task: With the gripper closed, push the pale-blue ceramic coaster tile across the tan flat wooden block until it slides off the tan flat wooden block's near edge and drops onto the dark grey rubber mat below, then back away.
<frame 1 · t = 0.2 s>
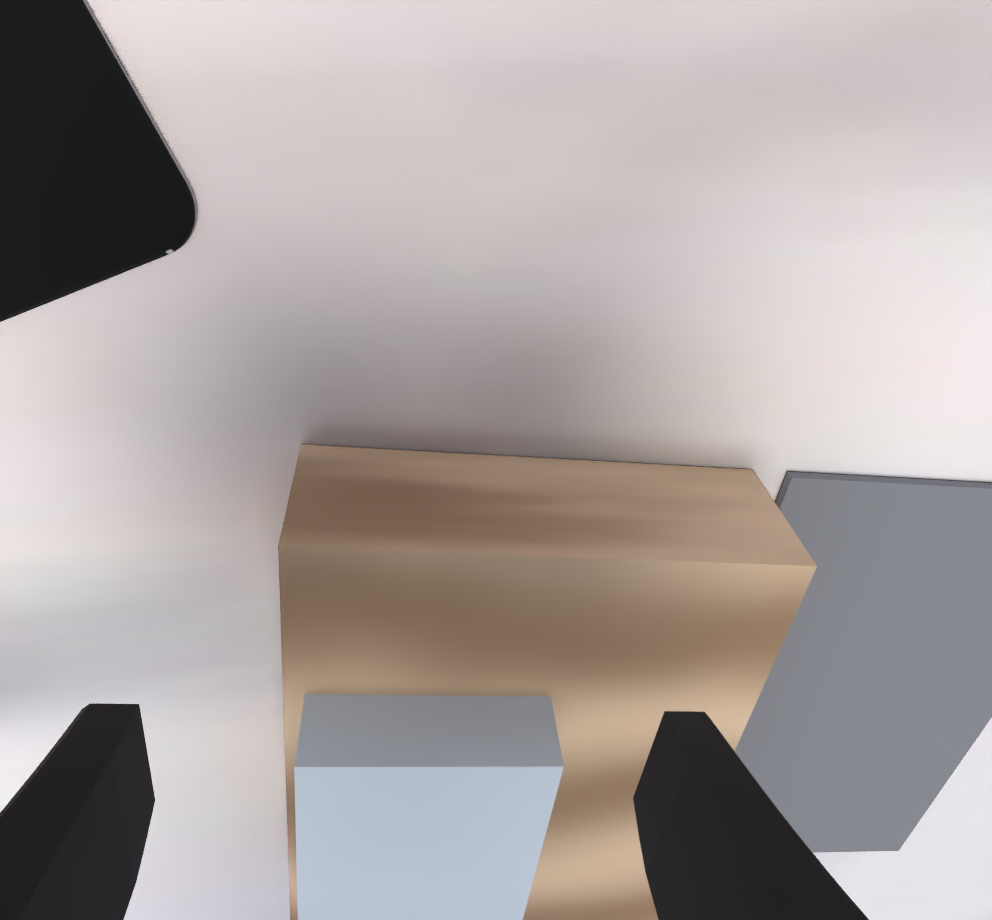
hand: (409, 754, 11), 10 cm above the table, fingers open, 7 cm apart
mat: (852, 696, 27), on the table
tan flat wooden block: (494, 692, 25), on the table
tile: (417, 806, 21), point 4 cm above the table, touching tan flat wooden block
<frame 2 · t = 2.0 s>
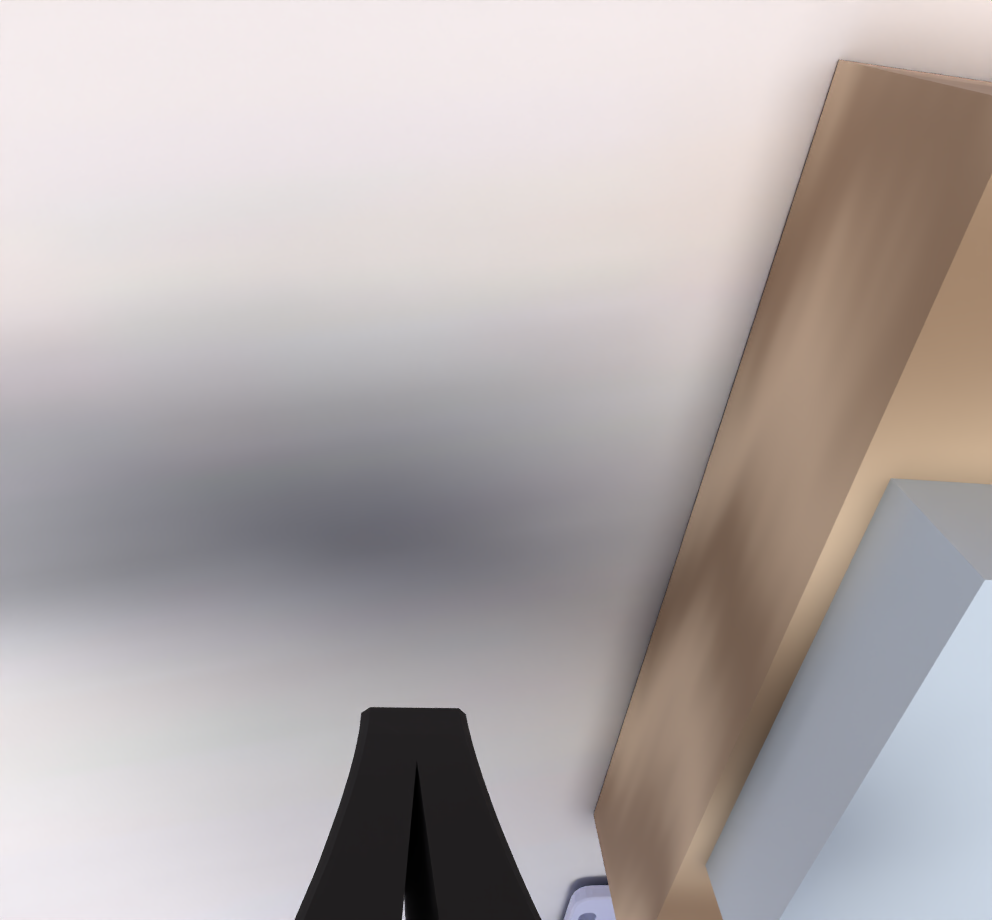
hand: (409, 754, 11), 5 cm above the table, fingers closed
tan flat wooden block: (945, 561, 17), on the table
tile: (947, 710, 13), point 4 cm above the table, touching tan flat wooden block
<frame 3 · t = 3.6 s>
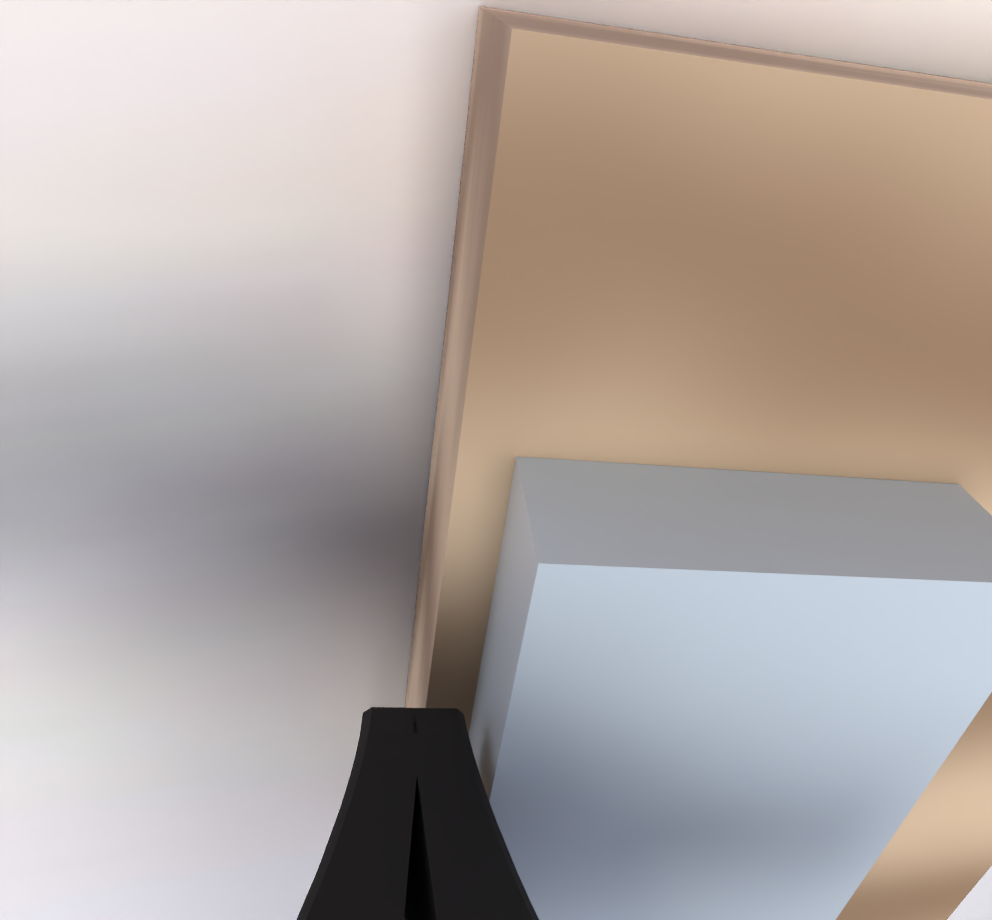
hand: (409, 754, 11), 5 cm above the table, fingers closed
tan flat wooden block: (715, 552, 16), on the table
tile: (661, 707, 12), point 4 cm above the table, touching tan flat wooden block, gripper
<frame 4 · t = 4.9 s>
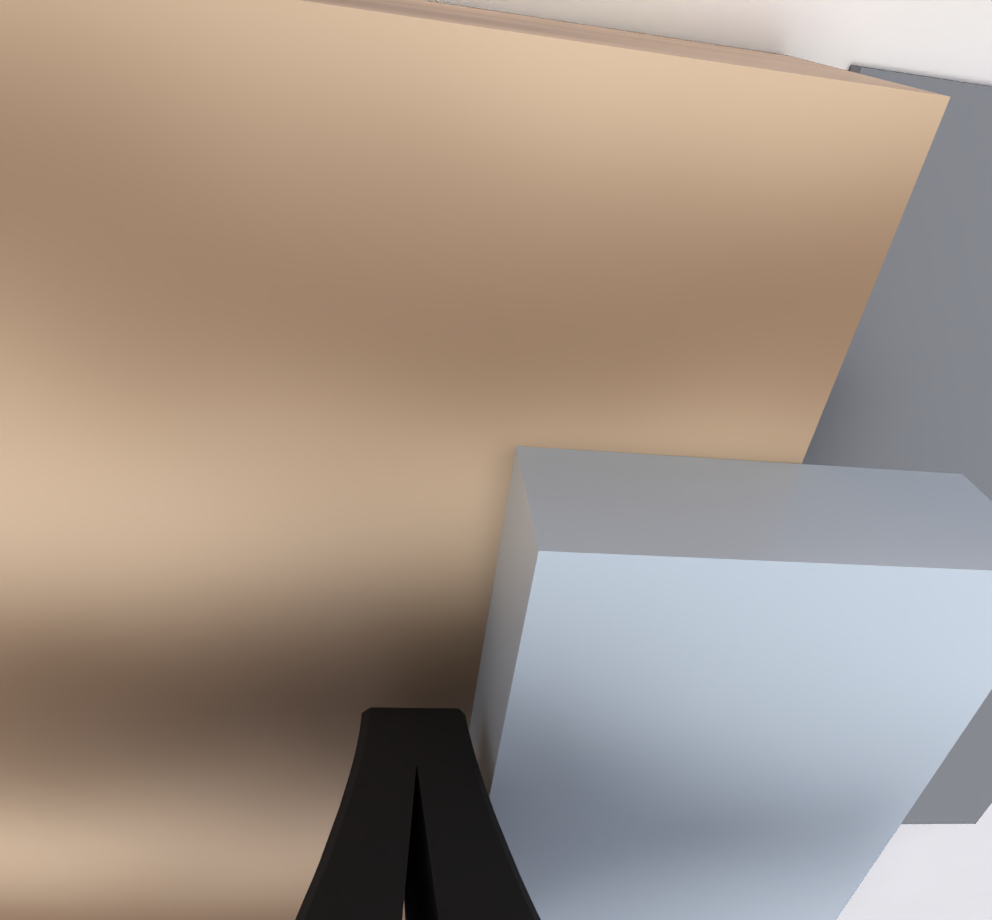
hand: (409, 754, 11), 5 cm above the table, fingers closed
mat: (929, 563, 17), on the table
tan flat wooden block: (339, 534, 15), on the table
tile: (663, 701, 12), point 4 cm above the table, touching gripper
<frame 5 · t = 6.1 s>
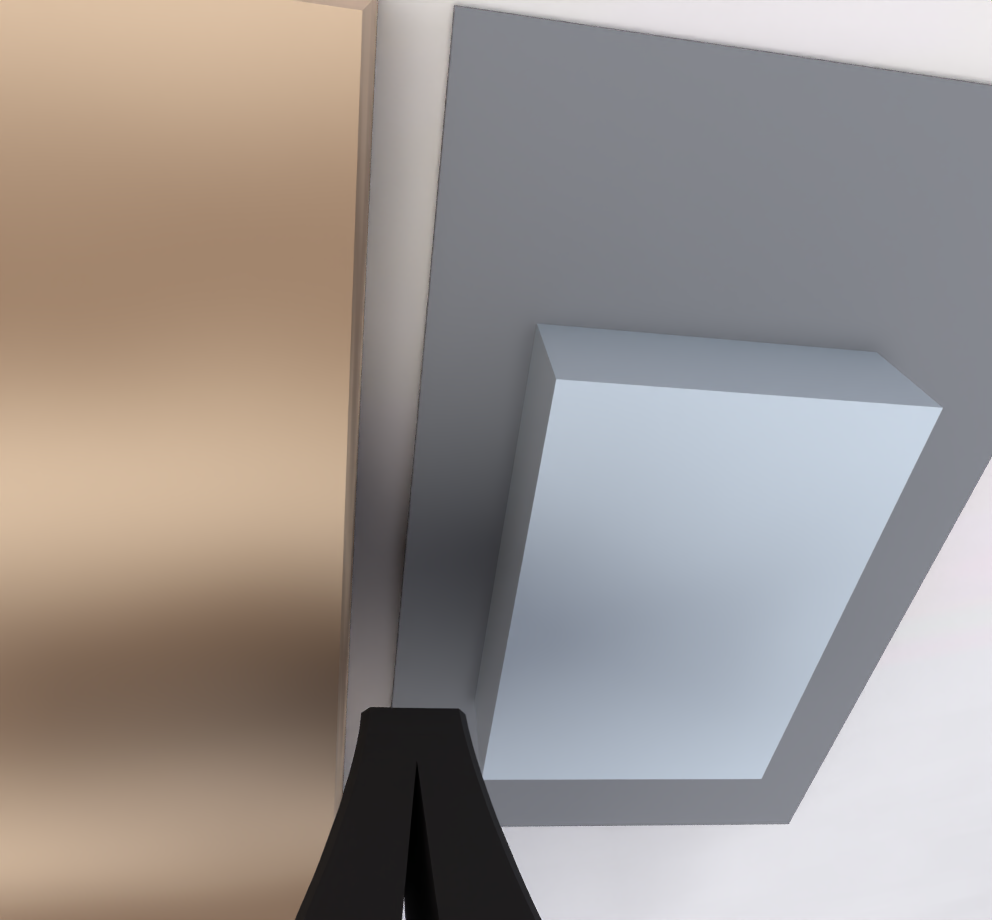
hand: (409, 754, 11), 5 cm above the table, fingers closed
mat: (676, 550, 16), on the table
tan flat wooden block: (17, 520, 14), on the table
tile: (679, 620, 14), point 2 cm above the table, tilted 180°, touching mat
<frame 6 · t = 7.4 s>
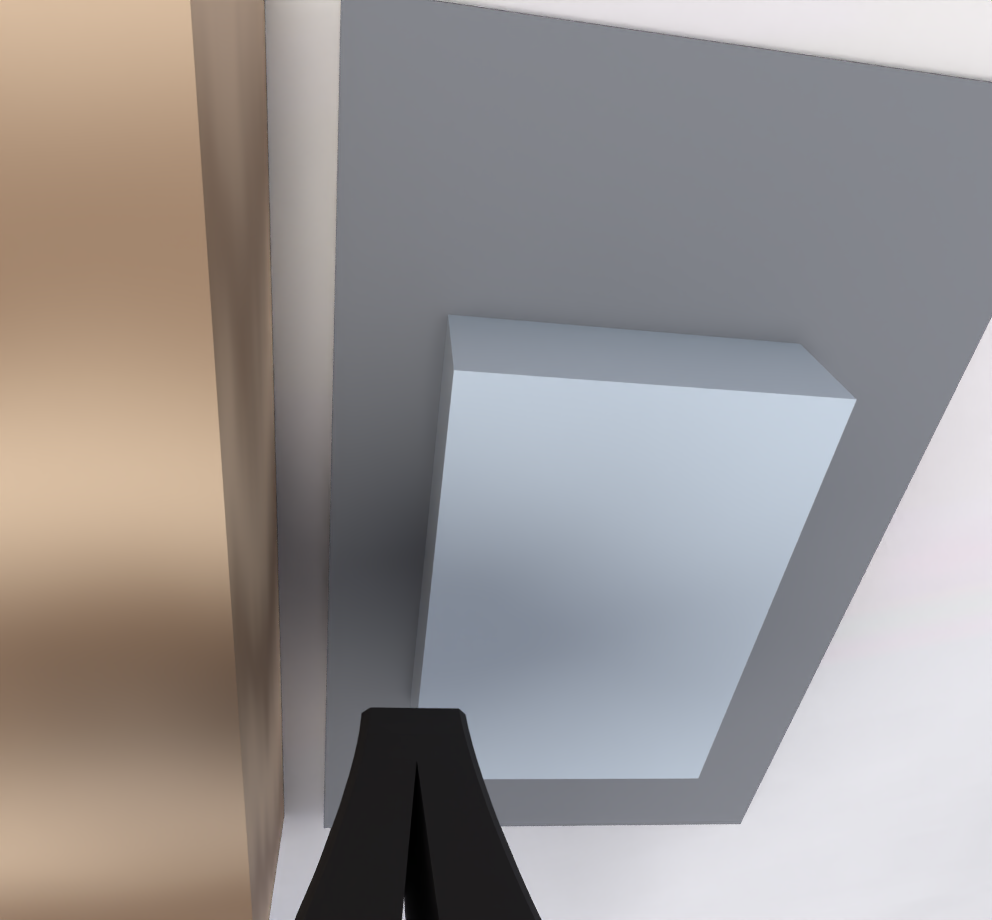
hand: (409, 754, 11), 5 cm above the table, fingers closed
mat: (609, 546, 16), on the table
tile: (601, 616, 13), point 2 cm above the table, tilted 180°, touching mat
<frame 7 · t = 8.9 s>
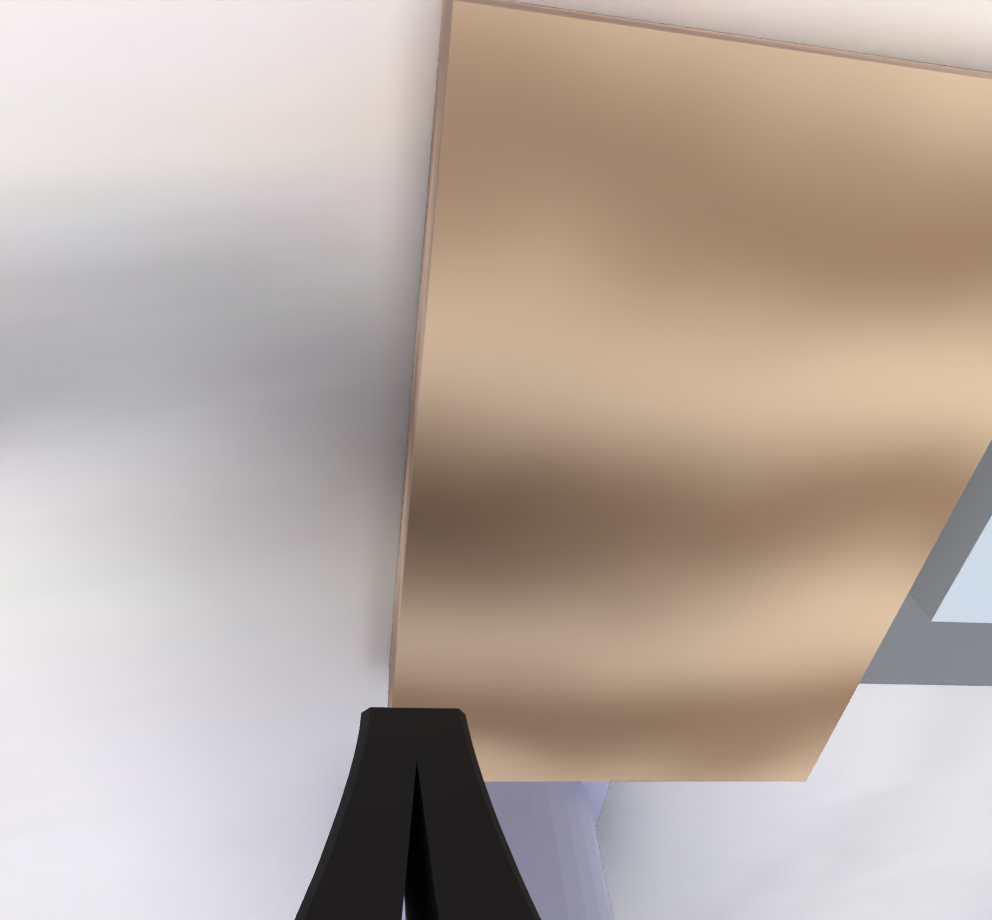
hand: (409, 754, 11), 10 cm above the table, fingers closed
tan flat wooden block: (642, 428, 20), on the table
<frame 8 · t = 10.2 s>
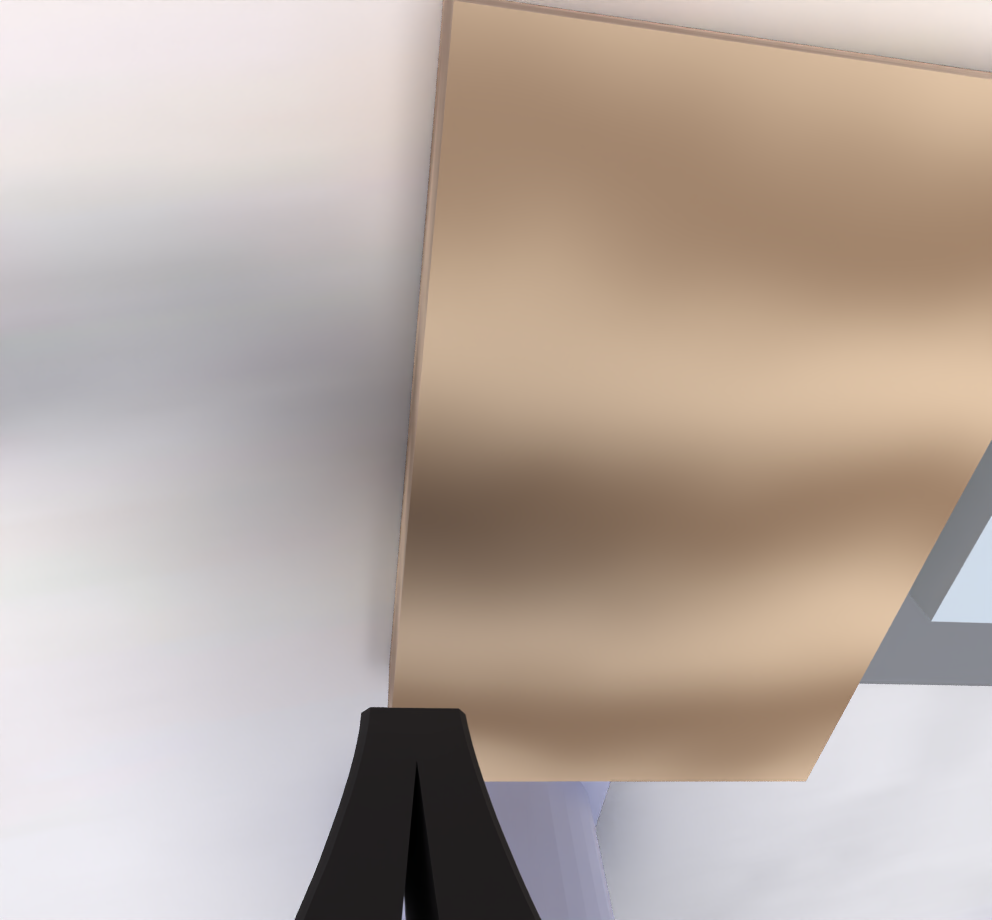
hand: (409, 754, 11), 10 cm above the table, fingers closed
tan flat wooden block: (642, 428, 20), on the table
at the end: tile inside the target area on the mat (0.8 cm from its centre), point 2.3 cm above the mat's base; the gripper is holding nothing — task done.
